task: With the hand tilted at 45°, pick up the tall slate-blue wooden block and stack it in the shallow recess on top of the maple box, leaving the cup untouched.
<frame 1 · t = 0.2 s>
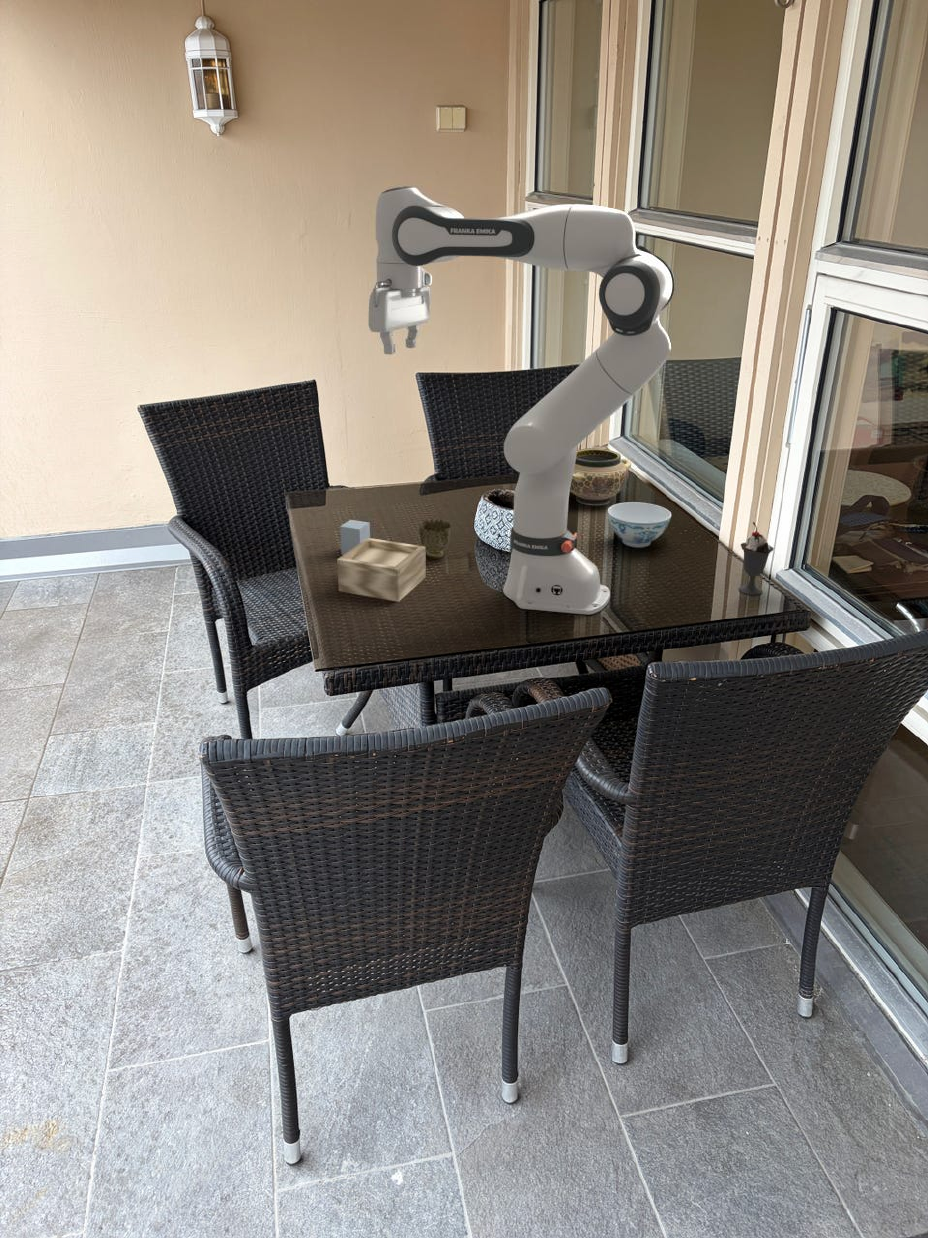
hand: (400, 350, 188), 48 cm above the table, tool pointing down, fingers open, 8 cm apart
ceramic bowl: (592, 501, 254), on the table
maple box: (383, 585, 202), on the table
sundae: (750, 591, 200), on the table
chinaware: (636, 543, 226), on the table
slate block: (356, 552, 218), on the table
cup: (435, 557, 216), on the table
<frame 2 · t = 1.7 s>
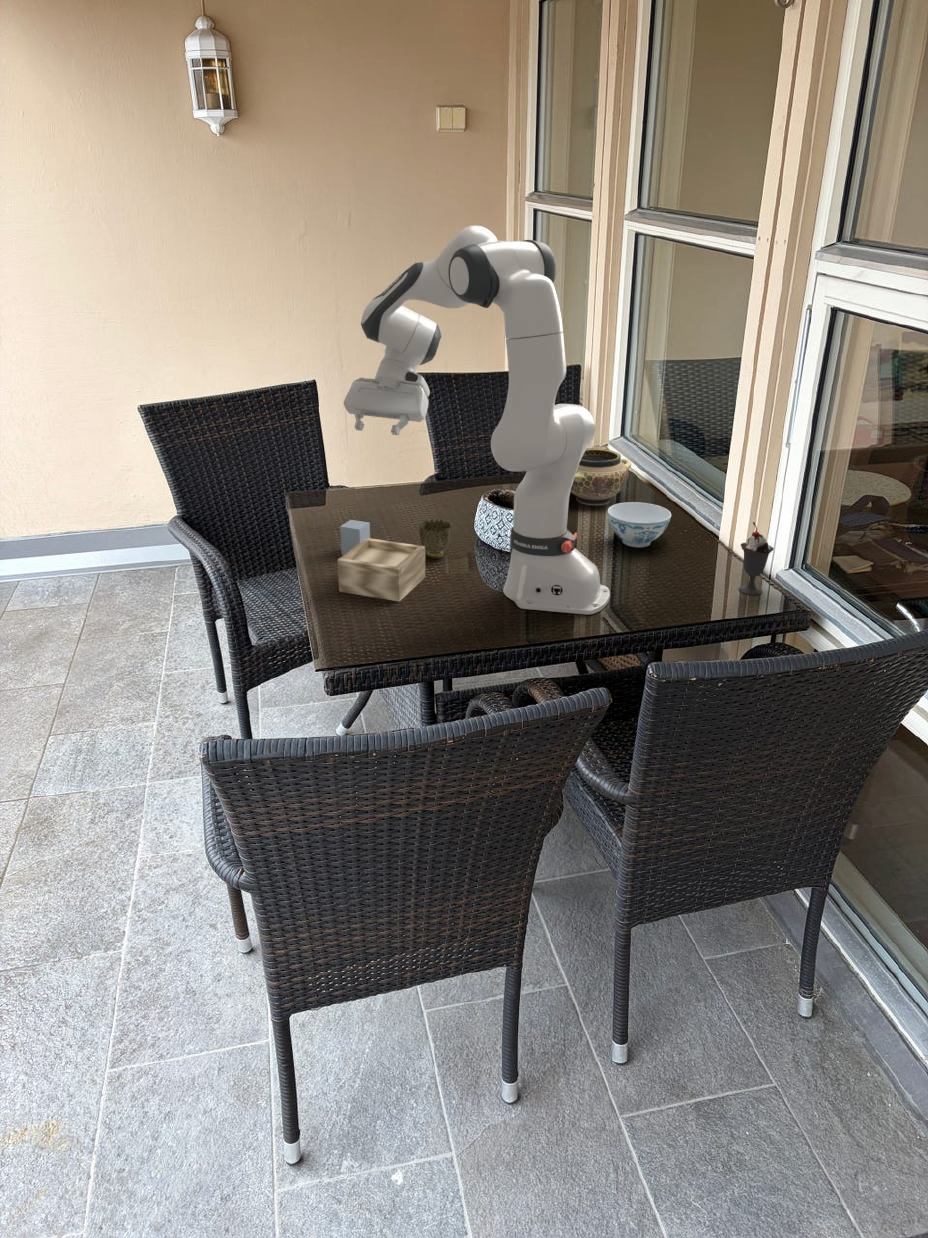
hand: (376, 431, 217), 26 cm above the table, tool tilted 45°, fingers open, 8 cm apart
nothing on the table moved.
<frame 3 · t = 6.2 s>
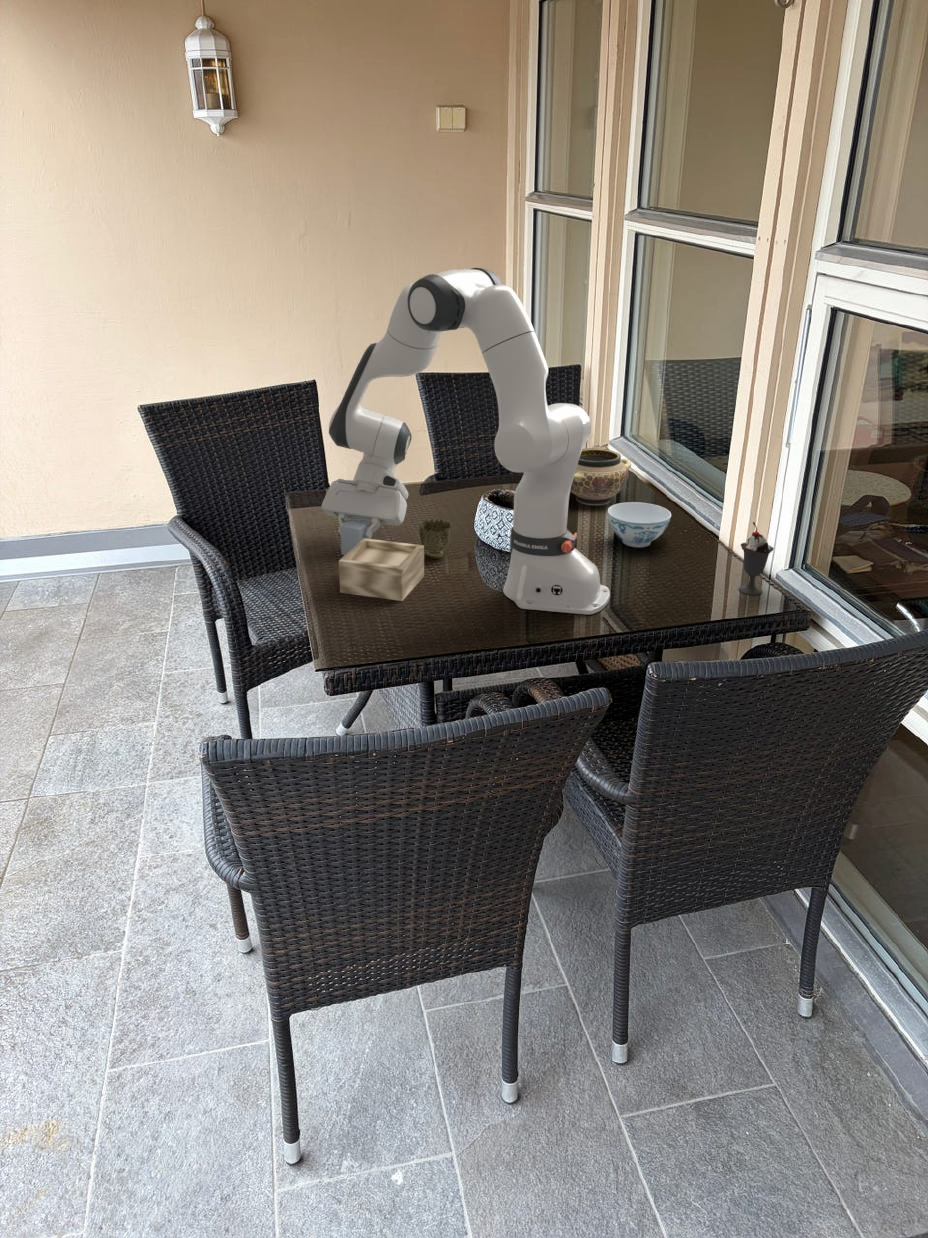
hand: (354, 535, 215), 4 cm above the table, tool tilted 45°, fingers closed on slate block, 5 cm apart
slate block: (356, 552, 218), on the table, touching gripper
everything else where it was.
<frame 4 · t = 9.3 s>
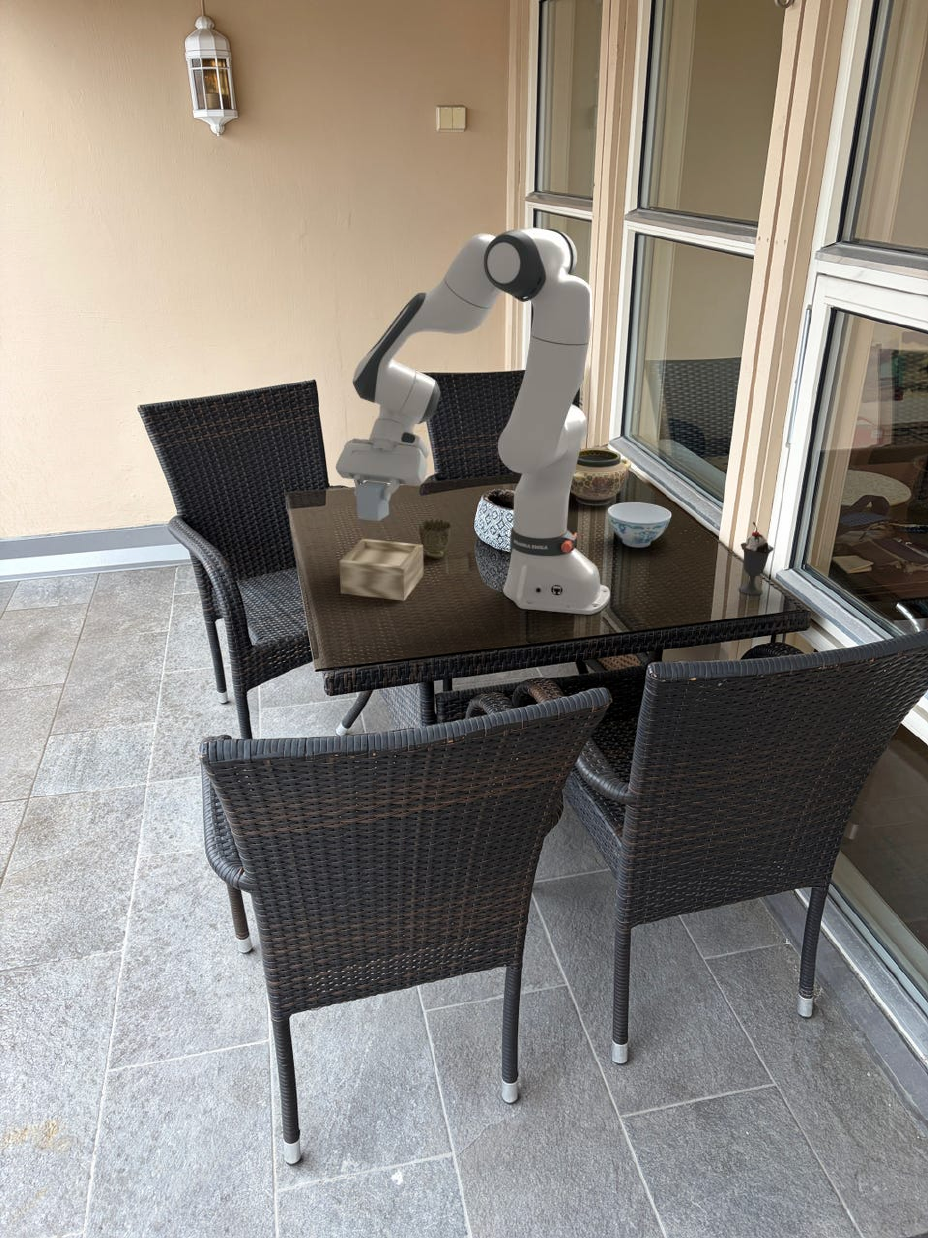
hand: (371, 497, 199), 17 cm above the table, tool tilted 45°, fingers closed on slate block, 5 cm apart
slate block: (373, 516, 202), point 13 cm above the table, touching gripper
everything else where it was.
when the fingers open (11 cm above the table, at t = 12.3 s): slate block drops 1 cm, point 6 cm above the table.
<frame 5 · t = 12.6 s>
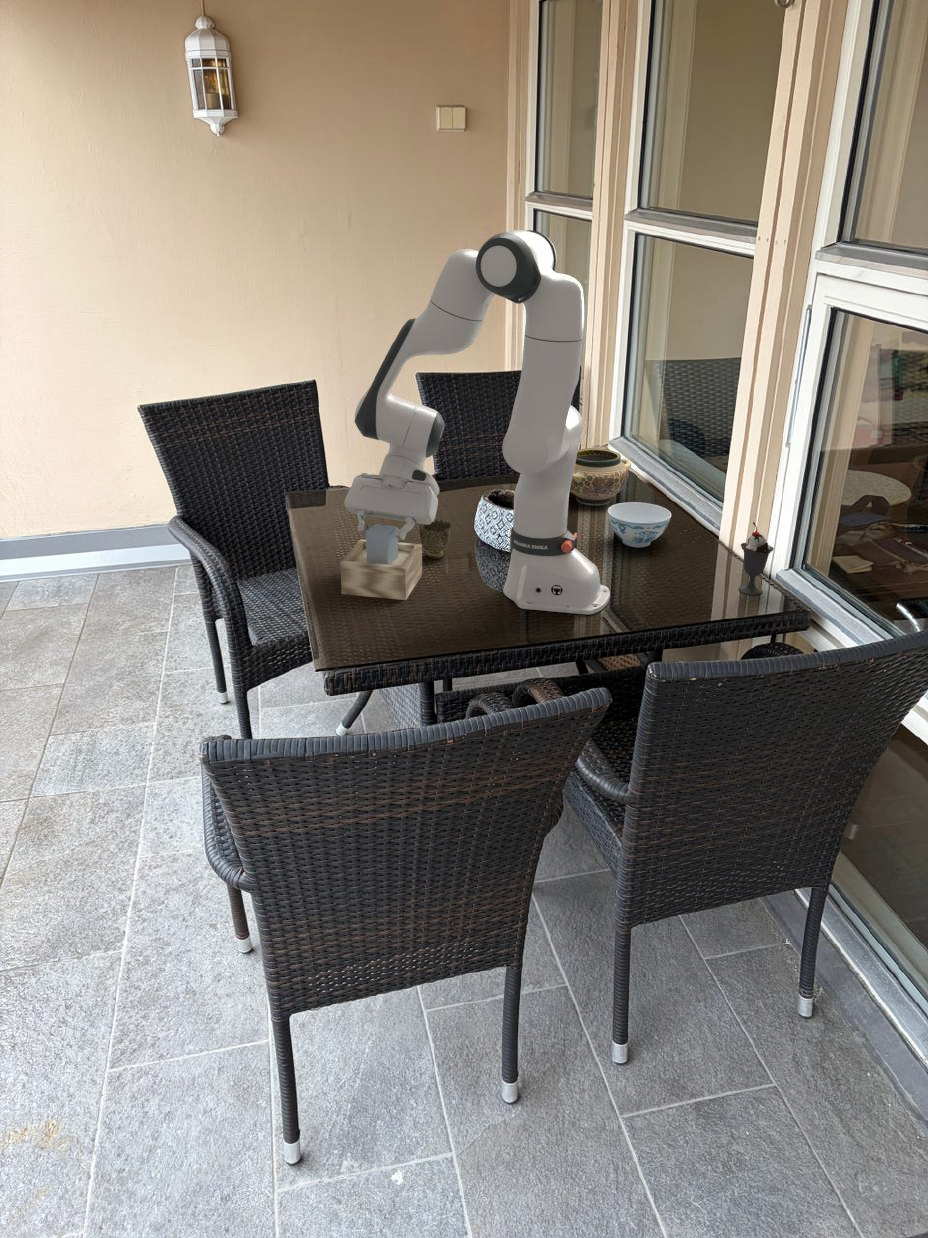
hand: (380, 535, 196), 11 cm above the table, tool tilted 45°, fingers open, 8 cm apart
slate block: (382, 559, 199), point 6 cm above the table
everything else where it was.
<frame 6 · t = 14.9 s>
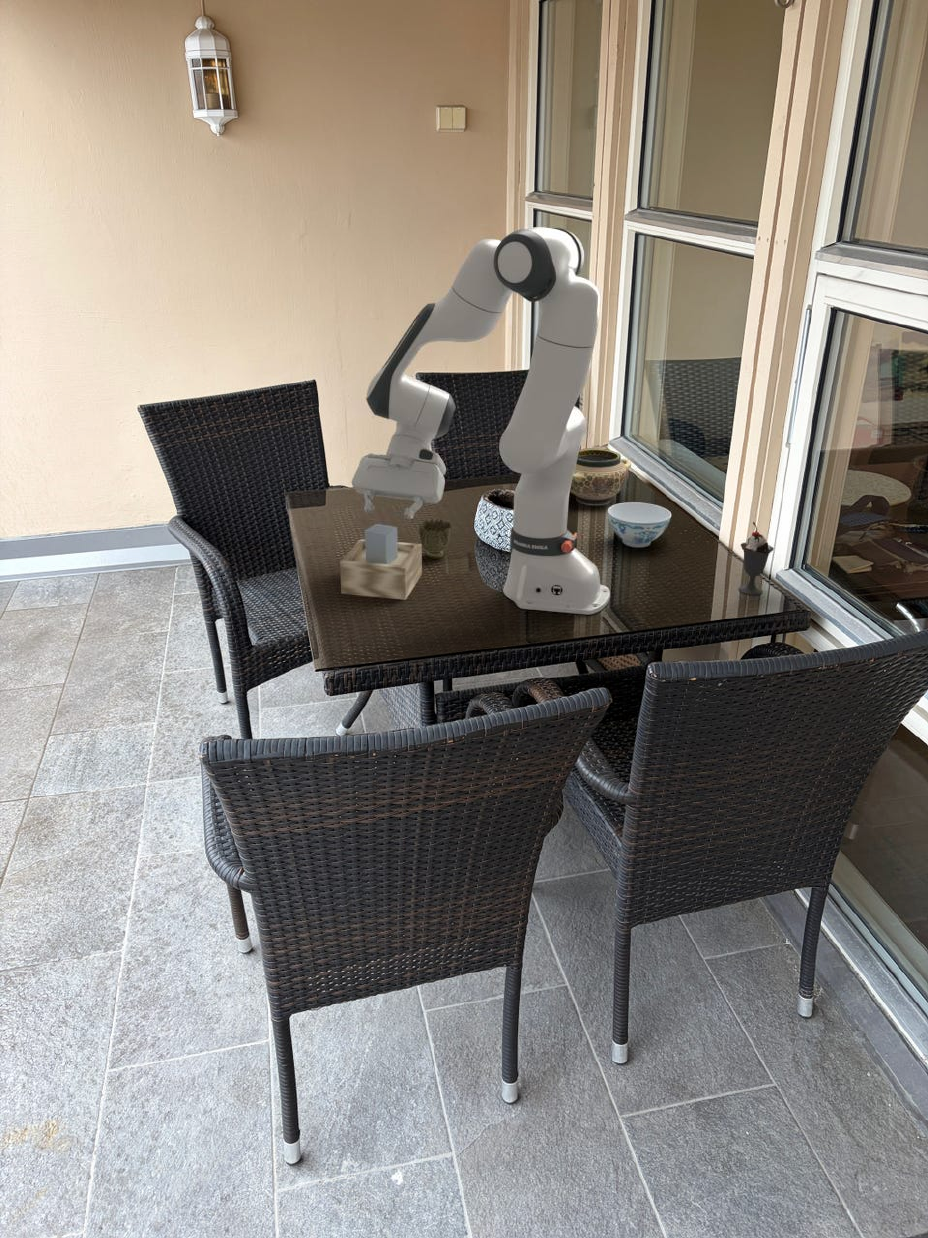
hand: (387, 514, 197), 15 cm above the table, tool tilted 45°, fingers open, 8 cm apart
maple box: (382, 585, 202), on the table, touching slate block
slate block: (381, 559, 199), point 6 cm above the table, touching maple box
everything else where it was.
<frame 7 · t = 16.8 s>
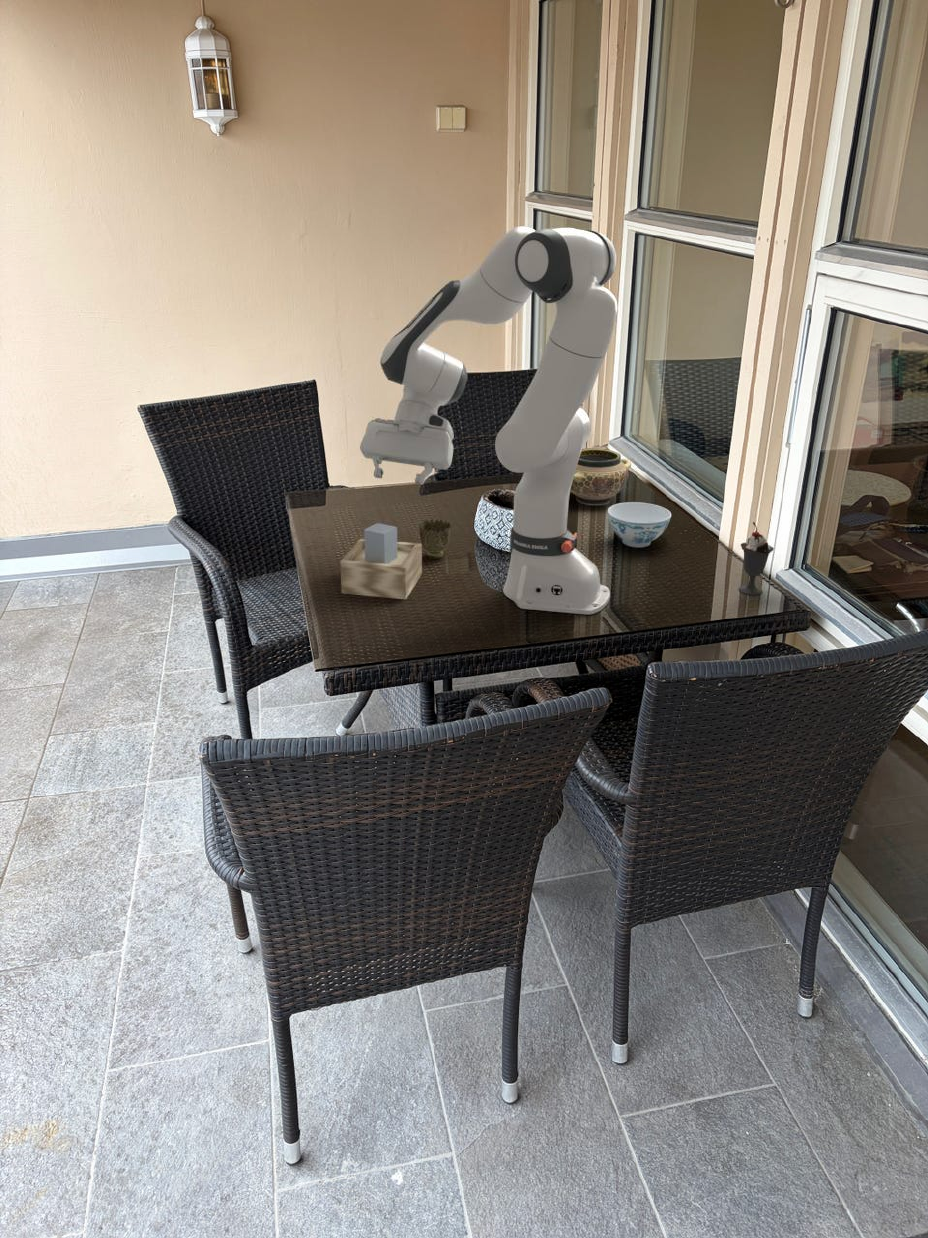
hand: (397, 480, 200), 21 cm above the table, tool tilted 45°, fingers open, 8 cm apart
nothing on the table moved.
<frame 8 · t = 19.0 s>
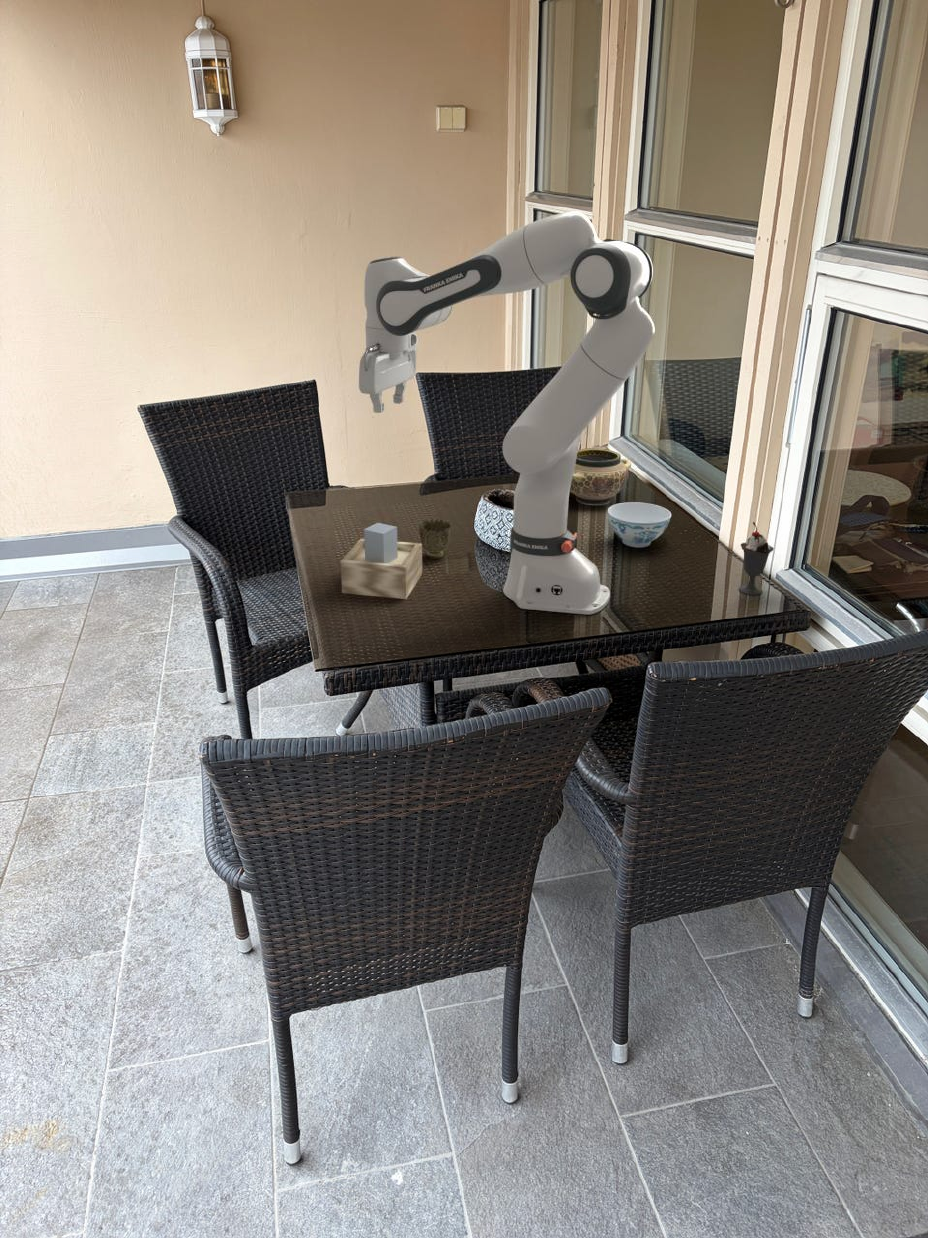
hand: (388, 407, 198), 35 cm above the table, tool pointing down, fingers open, 8 cm apart
nothing on the table moved.
at the end: slate block inside the target area on the maple box (0.2 cm from its centre), point 6.0 cm above the maple box's base; slate block tilted 0°; the gripper is holding nothing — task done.
